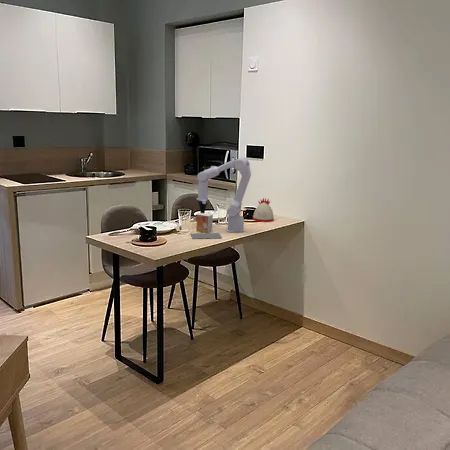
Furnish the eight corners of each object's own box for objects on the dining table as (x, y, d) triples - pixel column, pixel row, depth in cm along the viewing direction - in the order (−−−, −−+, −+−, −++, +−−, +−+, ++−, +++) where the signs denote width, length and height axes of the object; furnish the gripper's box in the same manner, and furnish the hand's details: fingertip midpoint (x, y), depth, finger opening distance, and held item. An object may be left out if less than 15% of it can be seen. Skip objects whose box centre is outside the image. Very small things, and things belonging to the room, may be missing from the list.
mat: (219, 233, 280) (219, 233, 280) (222, 238, 270) (222, 237, 270) (190, 234, 277) (190, 233, 277) (192, 239, 267) (192, 238, 267)
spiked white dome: (271, 223, 312) (272, 200, 308) (250, 221, 315) (252, 198, 312) (275, 218, 325) (276, 197, 321) (255, 216, 328) (256, 195, 325)
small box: (196, 231, 284) (196, 214, 281) (200, 229, 289) (201, 212, 286) (207, 233, 280) (208, 216, 278) (212, 231, 285) (212, 214, 283)
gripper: (195, 189, 295) (194, 210, 298) (197, 193, 281) (197, 215, 284) (206, 189, 296) (205, 210, 300) (209, 193, 283) (209, 215, 286)
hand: (202, 213), depth 292 cm, fingers closed
